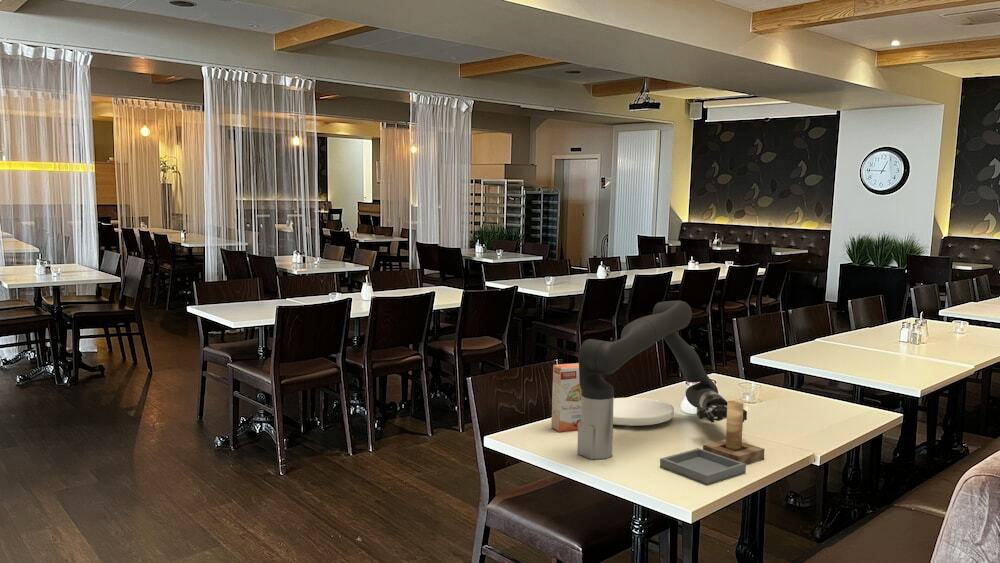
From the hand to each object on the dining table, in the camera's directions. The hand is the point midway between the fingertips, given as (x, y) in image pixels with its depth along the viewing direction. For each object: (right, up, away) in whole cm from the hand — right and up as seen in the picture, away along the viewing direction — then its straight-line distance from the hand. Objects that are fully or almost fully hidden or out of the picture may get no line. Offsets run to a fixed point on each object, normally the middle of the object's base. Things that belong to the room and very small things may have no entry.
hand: (727, 419), depth 220 cm
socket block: (0, -10, -6) cm, 12 cm away
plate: (-23, -6, +32) cm, 39 cm away
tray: (-12, -11, -17) cm, 24 cm away
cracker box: (-43, -7, +21) cm, 48 cm away
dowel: (0, -10, -6) cm, 12 cm away
